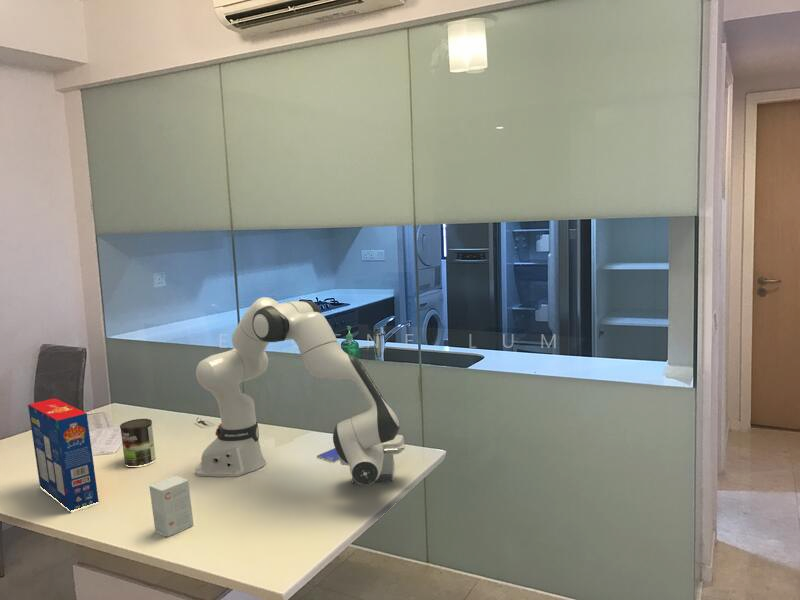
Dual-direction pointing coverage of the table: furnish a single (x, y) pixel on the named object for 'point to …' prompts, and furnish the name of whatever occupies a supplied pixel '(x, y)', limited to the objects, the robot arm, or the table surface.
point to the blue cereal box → (63, 452)
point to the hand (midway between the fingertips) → (371, 436)
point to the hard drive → (329, 456)
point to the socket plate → (384, 470)
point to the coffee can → (138, 442)
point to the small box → (171, 505)
